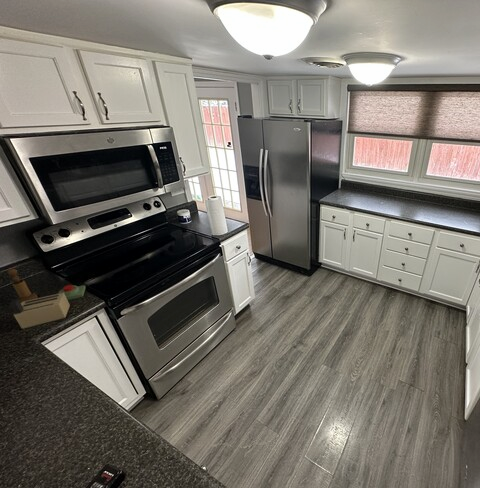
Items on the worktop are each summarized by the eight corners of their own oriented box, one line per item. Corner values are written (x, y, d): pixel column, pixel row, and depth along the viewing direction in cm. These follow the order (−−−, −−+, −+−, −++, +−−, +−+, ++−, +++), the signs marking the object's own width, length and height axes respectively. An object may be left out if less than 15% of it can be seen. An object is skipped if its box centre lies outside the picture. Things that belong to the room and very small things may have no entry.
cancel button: (63, 292, 130) (62, 289, 129) (65, 289, 133) (63, 286, 132) (73, 290, 132) (71, 287, 131) (74, 287, 134) (73, 284, 134)
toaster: (22, 329, 112) (13, 314, 109) (29, 315, 120) (21, 301, 116) (65, 318, 119) (58, 304, 115) (70, 306, 126) (63, 292, 123)
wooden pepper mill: (20, 306, 125) (1, 274, 117) (17, 301, 128) (-2, 270, 120) (39, 299, 130) (23, 268, 122) (35, 295, 133) (19, 264, 125)
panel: (56, 303, 128) (53, 297, 126) (60, 294, 135) (57, 287, 133) (83, 297, 133) (80, 291, 131) (86, 288, 139) (83, 282, 138)
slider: (15, 314, 109) (9, 304, 107) (17, 310, 111) (12, 300, 109) (21, 312, 110) (15, 303, 108) (23, 308, 112) (18, 299, 110)
